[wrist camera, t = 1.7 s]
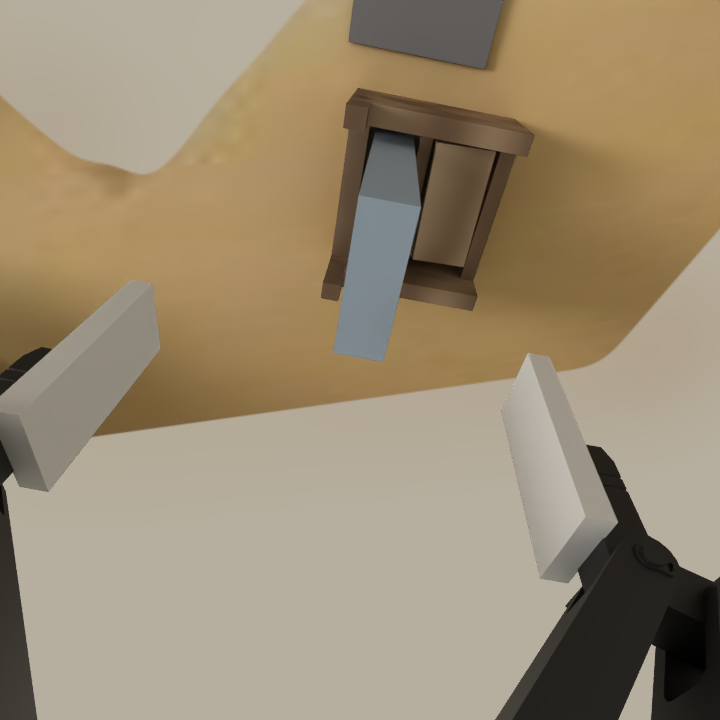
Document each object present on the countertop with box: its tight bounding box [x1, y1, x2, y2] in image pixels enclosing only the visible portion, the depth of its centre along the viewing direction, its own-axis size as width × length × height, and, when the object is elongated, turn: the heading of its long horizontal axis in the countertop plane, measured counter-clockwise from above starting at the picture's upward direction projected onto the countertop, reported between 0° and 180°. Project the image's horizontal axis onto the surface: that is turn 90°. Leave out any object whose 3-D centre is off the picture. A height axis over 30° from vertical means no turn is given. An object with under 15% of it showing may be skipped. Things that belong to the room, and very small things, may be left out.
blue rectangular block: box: [333, 128, 421, 362], centre depth 28 cm, size 3×8×16 cm, turn 170°
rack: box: [321, 88, 535, 311], centre depth 32 cm, size 11×12×8 cm
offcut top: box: [412, 139, 496, 267], centre depth 32 cm, size 4×8×2 cm, turn 172°
